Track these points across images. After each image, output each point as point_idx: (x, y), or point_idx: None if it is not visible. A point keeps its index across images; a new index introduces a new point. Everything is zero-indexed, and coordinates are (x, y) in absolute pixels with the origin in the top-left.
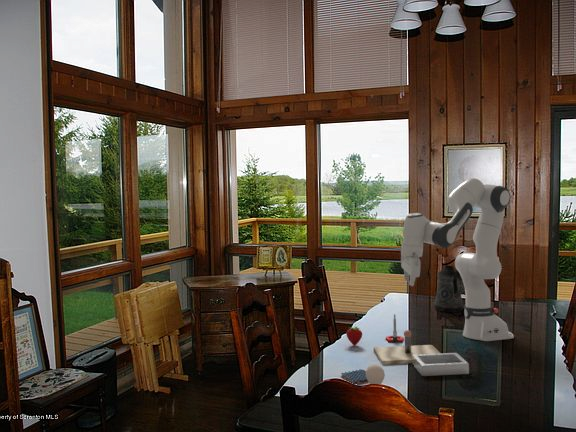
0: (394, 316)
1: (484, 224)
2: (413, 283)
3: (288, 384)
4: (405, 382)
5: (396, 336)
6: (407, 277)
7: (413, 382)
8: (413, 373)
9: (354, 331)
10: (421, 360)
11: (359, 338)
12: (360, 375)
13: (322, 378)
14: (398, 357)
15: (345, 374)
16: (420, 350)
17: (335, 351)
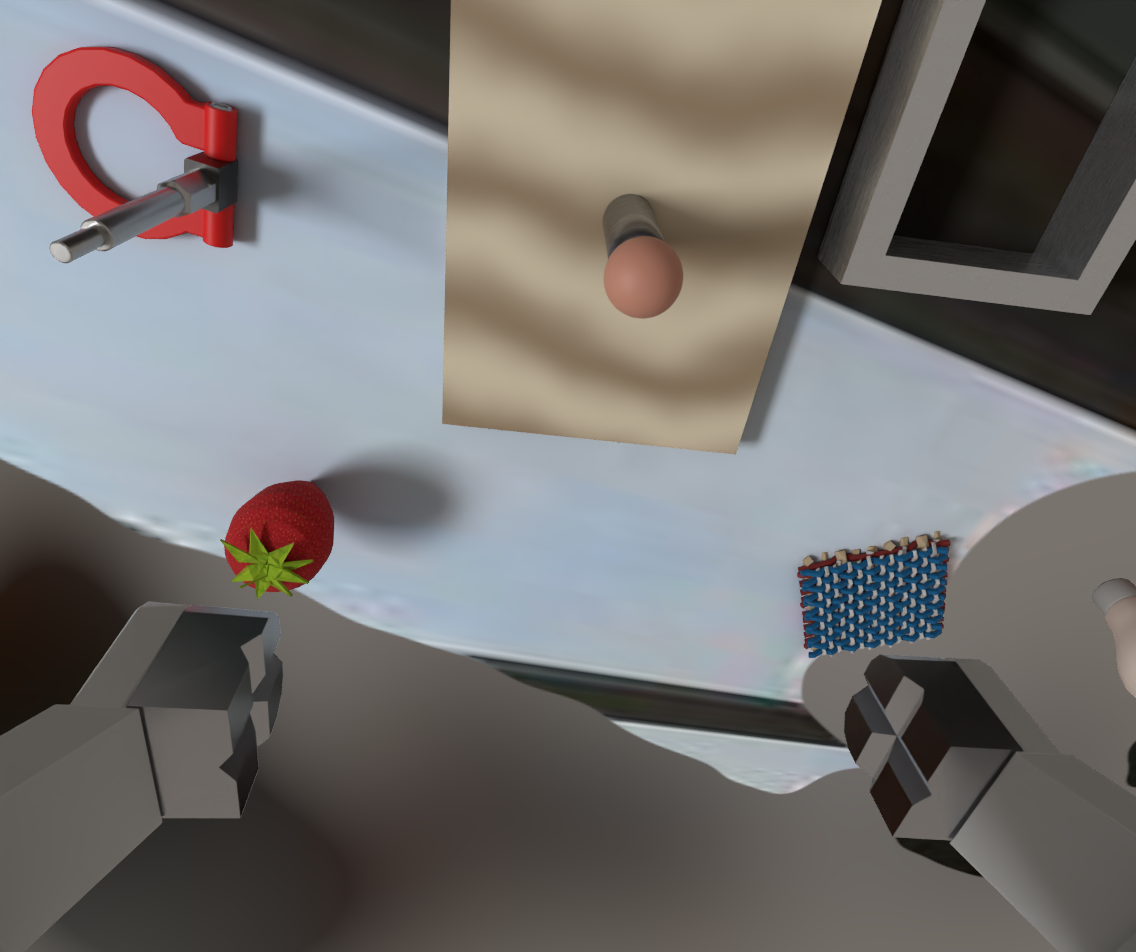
0: (85, 251)
1: None
2: (1012, 723)
3: (792, 787)
4: (1062, 416)
5: (205, 175)
6: (242, 736)
7: (1093, 376)
8: (970, 319)
9: (308, 564)
10: (997, 270)
11: (326, 503)
12: (884, 600)
13: (790, 702)
14: (713, 336)
15: (832, 646)
16: (610, 82)
17: (420, 598)
